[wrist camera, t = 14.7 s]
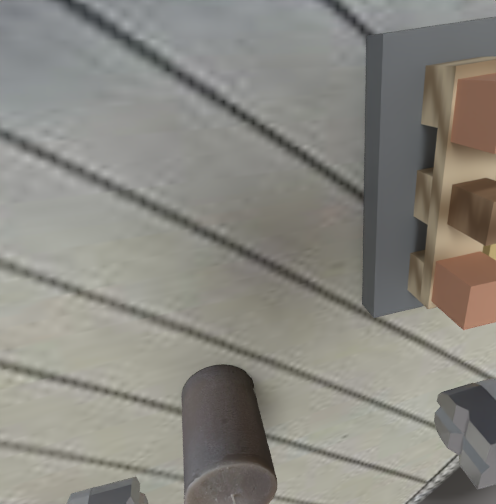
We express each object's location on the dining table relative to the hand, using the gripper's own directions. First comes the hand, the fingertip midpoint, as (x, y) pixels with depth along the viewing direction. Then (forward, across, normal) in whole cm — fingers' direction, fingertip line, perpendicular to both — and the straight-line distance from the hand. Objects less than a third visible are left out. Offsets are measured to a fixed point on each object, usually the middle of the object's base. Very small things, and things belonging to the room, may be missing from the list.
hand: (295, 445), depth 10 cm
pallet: (+27, -24, +7) cm, 37 cm away
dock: (+30, -24, +7) cm, 39 cm away
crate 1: (+23, -24, -2) cm, 34 cm away
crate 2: (+23, -24, +15) cm, 36 cm away
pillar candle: (+30, +4, +30) cm, 43 cm away
